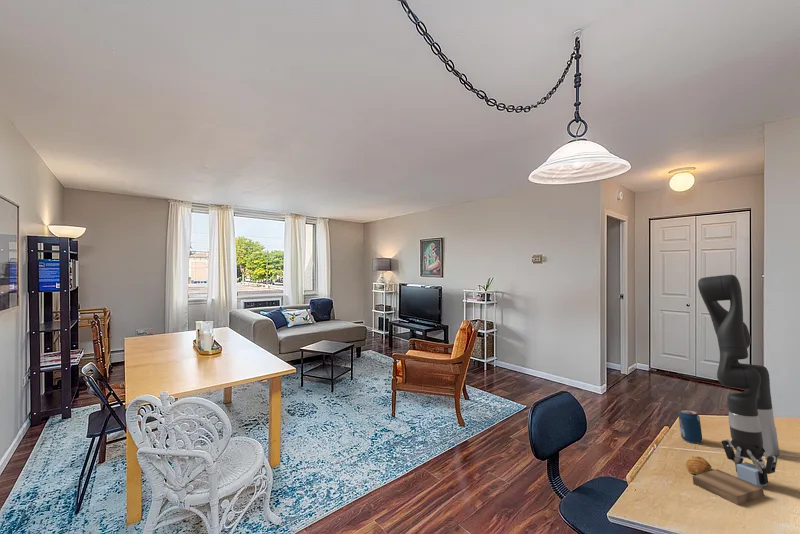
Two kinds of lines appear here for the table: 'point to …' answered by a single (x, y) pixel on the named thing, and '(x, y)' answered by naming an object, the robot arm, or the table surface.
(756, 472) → the blue cube
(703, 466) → the pastry
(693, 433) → the soda can
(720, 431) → the table surface
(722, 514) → the table surface
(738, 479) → the walnut base
